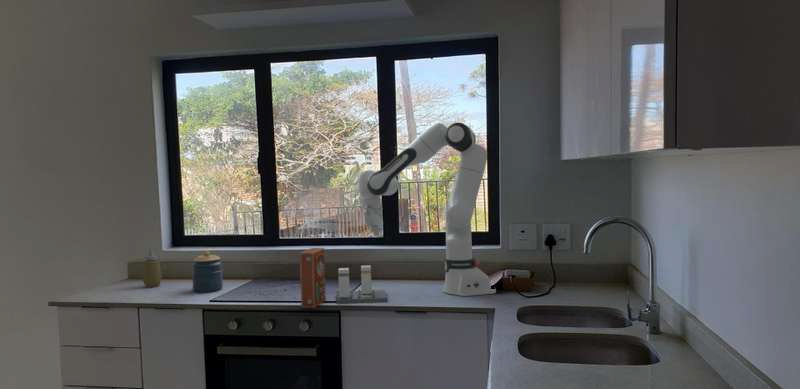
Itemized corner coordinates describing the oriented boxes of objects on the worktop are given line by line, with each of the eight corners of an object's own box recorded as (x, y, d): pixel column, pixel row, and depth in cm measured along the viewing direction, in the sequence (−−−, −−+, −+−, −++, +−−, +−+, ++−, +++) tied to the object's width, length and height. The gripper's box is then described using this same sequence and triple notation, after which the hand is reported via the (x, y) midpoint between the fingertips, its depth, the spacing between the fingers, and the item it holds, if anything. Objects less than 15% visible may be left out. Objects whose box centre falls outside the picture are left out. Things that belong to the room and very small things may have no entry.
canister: (219, 285, 230) (218, 248, 230) (226, 290, 219) (225, 251, 219) (190, 289, 223) (188, 250, 222) (195, 294, 212) (194, 254, 212)
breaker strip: (385, 293, 207) (384, 263, 207) (386, 301, 193) (386, 269, 193) (337, 295, 206) (336, 264, 205) (335, 303, 192) (334, 270, 191)
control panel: (328, 299, 199) (314, 309, 184) (312, 298, 200) (297, 308, 186) (327, 247, 198) (313, 253, 183) (311, 247, 200) (296, 252, 185)
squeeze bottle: (163, 286, 229) (162, 248, 228) (144, 289, 224) (142, 250, 224) (160, 283, 236) (159, 247, 235) (141, 286, 231) (140, 248, 230)
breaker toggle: (371, 291, 203) (370, 265, 203) (371, 293, 199) (370, 267, 198) (361, 291, 203) (360, 265, 202) (361, 294, 199) (360, 267, 198)
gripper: (372, 203, 210) (378, 234, 208) (383, 206, 230) (387, 235, 228) (359, 205, 211) (364, 237, 209) (370, 208, 231) (375, 237, 229)
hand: (376, 236), depth 219 cm, fingers closed
